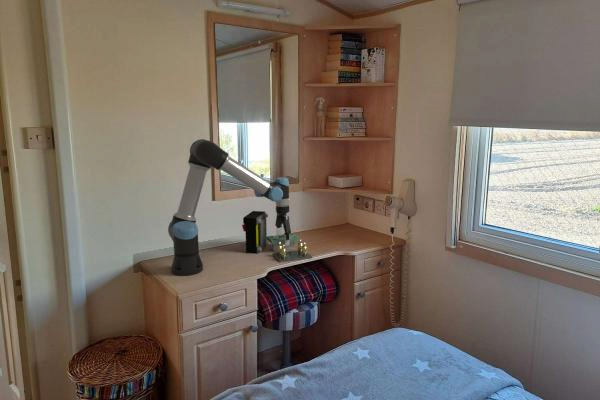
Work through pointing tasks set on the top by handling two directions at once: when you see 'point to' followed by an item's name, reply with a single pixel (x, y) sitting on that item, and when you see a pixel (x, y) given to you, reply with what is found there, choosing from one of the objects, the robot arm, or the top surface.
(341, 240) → the top surface
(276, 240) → the board
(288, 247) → the foam block
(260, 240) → the electrical component
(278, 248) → the chassis
